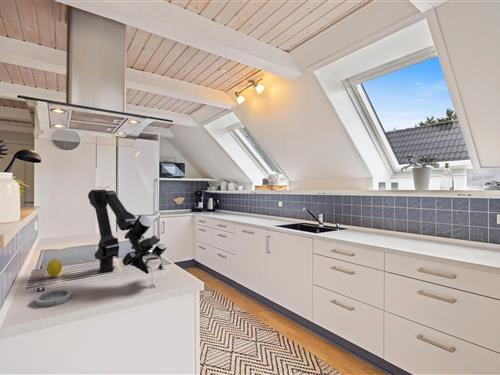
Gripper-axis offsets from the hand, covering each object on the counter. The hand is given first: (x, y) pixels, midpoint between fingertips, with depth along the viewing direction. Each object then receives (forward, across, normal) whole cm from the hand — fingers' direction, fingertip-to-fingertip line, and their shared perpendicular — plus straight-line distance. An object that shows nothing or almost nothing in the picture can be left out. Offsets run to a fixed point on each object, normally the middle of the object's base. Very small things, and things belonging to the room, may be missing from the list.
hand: (154, 270), depth 118 cm
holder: (-9, -29, +19) cm, 36 cm away
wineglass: (+4, 0, +6) cm, 7 cm away
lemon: (-26, -18, +36) cm, 48 cm away
